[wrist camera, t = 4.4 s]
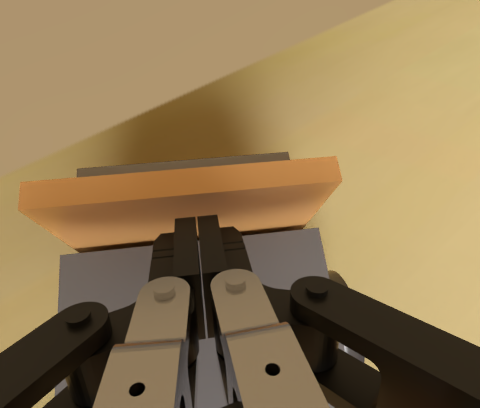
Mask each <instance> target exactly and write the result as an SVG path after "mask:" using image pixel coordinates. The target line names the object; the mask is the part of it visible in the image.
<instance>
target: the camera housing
mask: <svg viewBox="0 0 480 408" xmlns="http://www.w3.org/2000/svg"><path fill="white" fill-rule="evenodd" d="M242 238H243V241H244V244H245V248H246V251H247V254H248V258H249V261H250V264H251V267H252V271H253V273H254V274H256V275H257V276H258V277H259V279H260V281H261V283H262V284H264V285H266V286H268V287H272V288H277V289H285V290H290V288H291V285H292V284H293V283H294V282H295V281H296V280H298V279H300V278H302V277H306V276H320V277H325V278H328V279H330V280H333V281H335V282H337V283H339V284H342V285H344V286H346V287H348V286H347V284H346V283H345V281H344V280H343V278H342V277H341V276H340V275H339V274H338V273H337V272H335V271H331V270H330V271H328V270H327V265H326V260H325V256H324V251H323V246H322V242H321V237H320V232H319V228H312V229H302V230H293V231H284V232H274V233H265V234H255V235H246V236H242ZM198 249H199V259H200V271H201V283H202V296H203V309H204V322H205V335H206V339H201V340H199V354H198V363H199V365H198V389H197V408H221V407H224V406H226V403H225V398H224V393H223V388H222V383H221V378H220V373H219V368H218V364H217V355H216V345H215V338H208V332H207V322H206V311H205V301H204V291H203V280H202V269H201V257H200V245H199V241H198ZM152 250H153V245H152V246H143V247H133V248H124V249H114V250H105V251H96V252H86V253H77V254H67V255H60V272H59V298H58V313H59V312H61V311H62V310H64V309H65V308H67V307H69V306H72V305H74V304H78V303H82V302H99V303H101V304H103V305H105V306H106V307H107V309H108V313H109V312H112V311H115V310H118V309H121V308H124V307H126V306H129V305H131V304H133V303H134V302H136V301H137V297H138V294H139V291H140V290H141V288H142V287H143V286H144V285H145V284H147V283H148V279H149V272H150V265H151V260H152V252H153V251H152ZM338 348H339V349H341V350H343V351H344V352H346V353H348V354H349V355H351V356H353V357H355V358H356V359H358V360H360V361H362V362H363V363H364V356H362V355H360V354H358V353H357V352H355V351H353V350H351V349H350V348H348V347H346V346H344V345H343V344H341V343H339V346H338ZM66 386H67V383H66V380H65V379H64V380H63V381H61V382H60V383H59V384H58V385H57V386H56V387H55V396H56V395H57V394H58V393H60V392H61V391H62V390H63V389H64V388H65V387H66ZM328 405H329V407H330V408H334V407H333V406H332V405H330V404H329V403H328Z"/></svg>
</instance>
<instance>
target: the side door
mask: <svg viewBox="0 0 480 408" xmlns="http://www.w3.org/2000/svg"><path fill="white" fill-rule="evenodd" d="M341 182H342V177H341V173H340V169H339V165H338V161H337V157H336V156H332V157H320V158H308V159H296V160H290V159H289V154H288V152H282V153H269V154H256V155H244V156H231V157H219V158H206V159H194V160H181V161H168V162H156V163H143V164H131V165H118V166H105V167H93V168H80V169H77V178H65V179H52V180H40V181H28V182H20V193H19V205H18V211H20V212H21V213H23V214H24V215H26V216H27V217H29V218H30V219H31V220H33V221H34V222H36V223H37V224H39V225H40V226H42V227H43V228H44V229H46V230H47V231H49V232H50V233H52V234H53V235H55V236H56V237H57V238H59V239H60V240H62V241H63V242H65V243H66V244H68V245H69V246H71V247H72V248H73V249H75V250H76V251H78V252H79V253H86V252H96V251H105V250H114V249H124V248H133V247H143V246H152V245H153V243H154V241H155V240H156V239H157V237H158V236H159V235H160V234H161V233H172V232H174V227H175V218H186V217H195V218H196V228H197V239H198V241H199V233H198V221H197V216H206V215H216V214H217V216H218V221H219V226H220V228H221V227H231V226H233V227H235V228H236V229H237V230H238V231H239V232H241V234H242V236H246V235H255V234H265V233H274V232H284V231H293V230H302V229H303V228H304V226H305V225H306V224H307V223H308V222H309V220H310V219H311V218H312V217H313V216H314V214H315V213H316V212H317V211H318V210H319V208H320V207H321V206H322V205H323V204H324V202H325V201H326V200H327V199H328V198H329V196H330V195H331V194H332V193H333V192H334V190H335V189H336V188H337V187H338V186H339V184H340V183H341Z"/></svg>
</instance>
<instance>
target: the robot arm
mask: <svg viewBox="0 0 480 408" xmlns="http://www.w3.org/2000/svg"><path fill="white" fill-rule="evenodd" d="M197 221H198V233H199V245H200V257H201V269H202V280H203V291H204V301H205V311H206V322H207V332H208V338H215V345H216V355H217V364H218V368H219V373H220V378H221V383H222V388H223V393H224V398H225V403H226V406H224V407H221V408H330V407H329V405H328V403H329V404H330V405H332V406H333V407H334V408H480V347H478V346H476V345H474V344H472V343H469V342H467V341H465V340H463V339H461V338H458V337H456V336H454V335H452V334H450V333H447V332H445V331H443V330H441V329H439V328H436V327H434V326H432V325H430V324H428V323H425V322H423V321H421V320H419V319H417V318H414V317H412V316H410V315H408V314H406V313H403V312H401V311H399V310H397V309H394V308H392V307H390V306H388V305H386V304H383V303H381V302H379V301H377V300H375V299H372V298H370V297H368V296H366V295H364V294H361V293H359V292H357V291H355V290H353V289H350V288H348V287H346V286H344V285H342V284H339V283H337V282H335V281H333V280H330V279H328V278H325V277H320V276H306V277H302V278H300V279H298V280H296V281H295V282H294V283H293V284H292V285H291V288H290V290H285V289H277V288H272V287H268V286H266V285H264V284H262V283H261V281H260V279H259V277H258V276H257V275H256V274H254V273H253V271H252V267H251V264H250V261H249V258H248V254H247V251H246V248H245V244H244V241H243V238H242V234H241V232H239V231H238V230H237V229H236V228H235V227H233V226H231V227H221V228H220V226H219V221H218V216H217V214H216V215H206V216H197ZM152 251H153V252H152V260H151V265H150V272H149V279H148V283H147V284H145V285H144V286H143V287H142V288H141V290H140V291H139V294H138V297H137V301H136V302H134V303H133V304H131V305H129V306H126V307H124V308H121V309H118V310H115V311H112V312H109V313H108V309H107V307H106V306H105V305H103V304H101V303H99V302H82V303H78V304H74V305H72V306H69V307H67V308H65V309H64V310H62V311H61V312H59V313H58V314H56V315H55V316H53V317H52V318H51V319H49V320H48V321H46V322H45V323H43V324H42V325H40V326H39V327H38V328H36V329H35V330H33V331H32V332H30V333H29V334H27V335H26V336H25V337H23V338H22V339H20V340H19V341H17V342H16V343H14V344H13V345H12V346H10V347H9V348H7V349H6V350H4V351H3V352H1V353H0V408H31V407H33V406H34V405H35V404H36V403H37V402H38V401H39V400H41V399H42V398H43V397H44V396H45V395H46V394H48V393H49V392H50V391H51V390H52V389H53V388H55V387H56V386H57V385H58V384H59V383H60V382H61V381H63V380H64V379H65V380H66V383H67V386H66V387H65V388H64V389H63V390H62V391H61V392H60V393H58V394H57V395H56V396H55V397H54V398H53V399H52V400H51V401H49V402H48V403H47V404H46V405H45V406H44V407H43V408H197V389H198V365H199V363H198V354H199V340H201V339H206V335H205V322H204V309H203V296H202V283H201V271H200V259H199V249H198V239H197V228H196V218H195V217H186V218H175V227H174V232H172V233H161V234H160V235H159V236H158V237H157V239H156V240H155V241H154V243H153V250H152ZM339 343H341V344H343V345H344V346H346V347H348V348H350V349H351V350H353V351H355V352H357V353H358V354H360V355H362V356H364V357H365V358H367V359H369V360H370V361H372V362H373V363H374V364H375V365H376V366H377V368H378V369H379V371H380V372H379V371H377V370H375V369H374V368H372V367H370V366H368V365H367V364H365V363H363V362H362V361H360V360H358V359H356V358H355V357H353V356H351V355H349V354H348V353H346V352H344V351H343V350H341V349H339V348H338V346H339Z"/></svg>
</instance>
